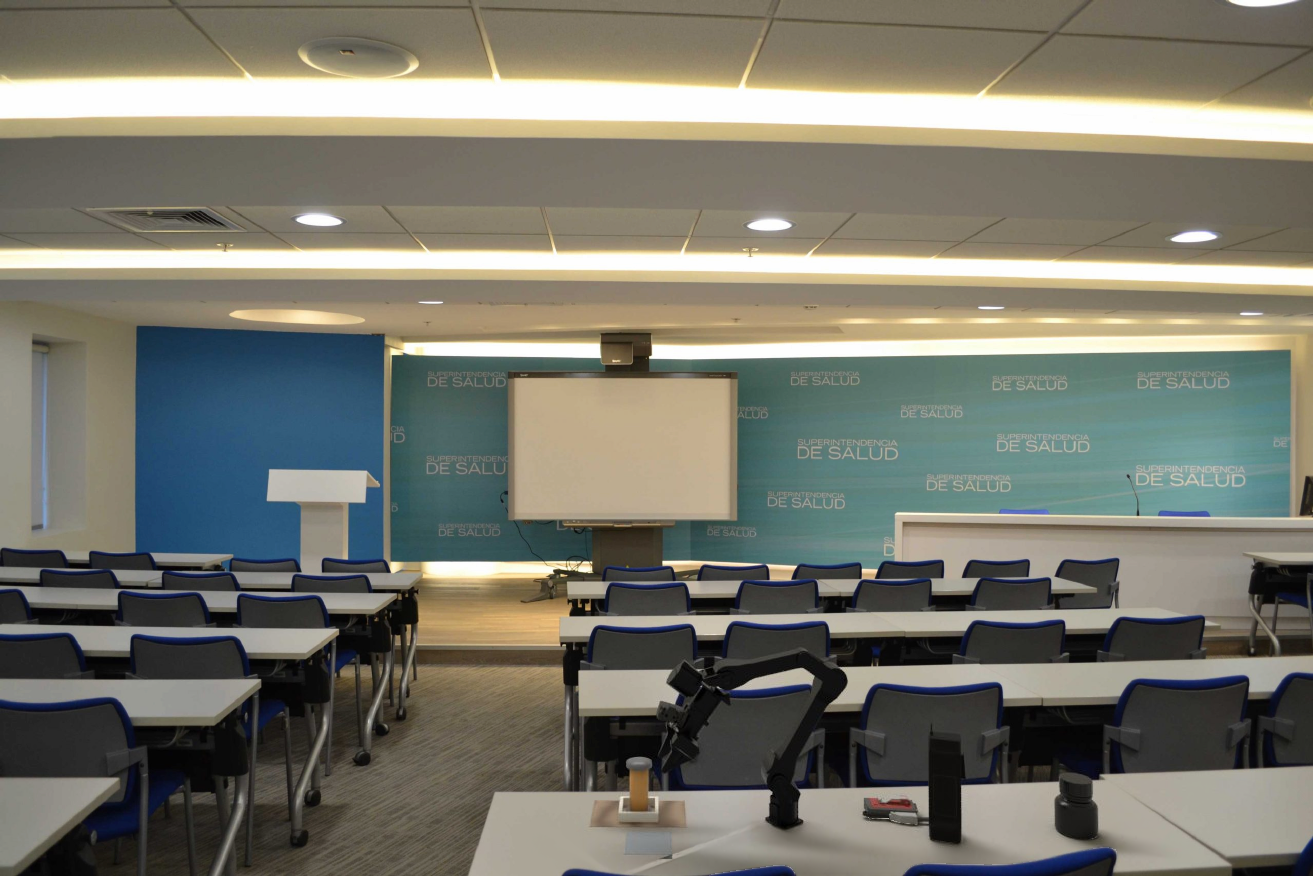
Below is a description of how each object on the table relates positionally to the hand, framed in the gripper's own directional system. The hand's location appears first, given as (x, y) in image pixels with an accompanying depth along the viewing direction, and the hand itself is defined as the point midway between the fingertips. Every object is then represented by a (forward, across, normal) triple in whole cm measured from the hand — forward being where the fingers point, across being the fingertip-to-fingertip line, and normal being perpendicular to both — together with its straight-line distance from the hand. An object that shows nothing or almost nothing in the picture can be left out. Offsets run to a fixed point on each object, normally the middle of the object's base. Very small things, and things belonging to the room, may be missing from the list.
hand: (661, 764), depth 184 cm
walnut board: (+14, -4, +4) cm, 15 cm away
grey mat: (+13, +10, +5) cm, 18 cm away
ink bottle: (-45, +9, +84) cm, 96 cm away
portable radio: (-27, +10, +60) cm, 66 cm away
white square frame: (+14, -4, +4) cm, 15 cm away
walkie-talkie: (-23, -1, +55) cm, 60 cm away
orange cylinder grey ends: (+13, -4, +4) cm, 14 cm away
